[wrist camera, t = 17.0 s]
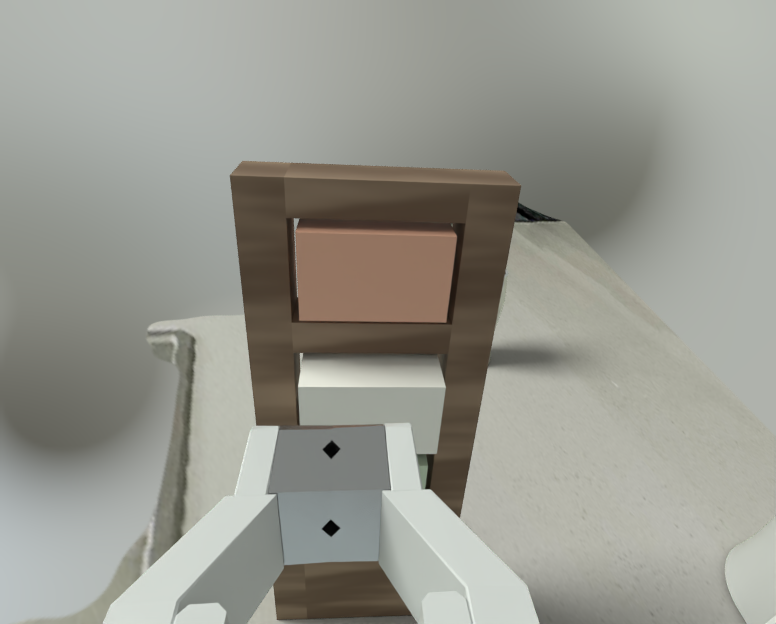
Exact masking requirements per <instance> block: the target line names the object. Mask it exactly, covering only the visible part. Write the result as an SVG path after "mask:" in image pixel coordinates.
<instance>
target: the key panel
mask: <svg viewBox="0 0 776 624" xmlns="http://www.w3.org/2000/svg"><path fill="white" fill-rule="evenodd" d="M230 181H231V190H232V200H233V209H234V219H235V227H236V237H237V246H238V256H239V265H240V275H241V284H242V294H243V303H244V313H245V322H246V332H247V341H248V350H249V360H250V369H251V379H252V388H253V398H254V407H255V416H256V426H281V425H300V418H299V397H298V384H299V377H300V353H389V354H437V355H438V359H439V363H440V367H441V371H442V374H443V378H444V382H445V386H446V390H445V397H444V405H443V412H442V419H441V427H440V434H439V441H438V449H437V454H426V457H427V463H428V470H427V478H426V486H425V489H431V490H432V491H433V492H434V493H435V494H436V495H437V496H438V497H439V498H440V499H441V500H442V501H443V502H444V503H445V504H446V505H447V506H448V507H449V508H450V509H451V510H452V511H453V512H454V513H455V514H456V515H457V516H458V517H459V518H460V514H461V509H462V504H463V498H464V493H465V487H466V482H467V476H468V471H469V466H470V460H471V455H472V449H473V444H474V439H475V433H476V428H477V422H478V417H479V411H480V406H481V401H482V395H483V390H484V384H485V379H486V374H487V368H488V363H489V357H490V352H491V346H492V341H493V336H494V330H495V325H496V319H497V314H498V308H499V303H500V298H501V292H502V287H503V281H504V276H505V271H506V265H507V260H508V254H509V249H510V243H511V238H512V233H513V227H514V222H515V216H516V211H517V206H518V200H519V194H520V189H521V185H520V184H519V183H518V182H516V181H515V180H514V179H513V178H512V177H511V176H510V175H509V174H508V173H507V172H505V171H491V170H467V169H440V168H412V167H388V166H387V167H386V166H361V165H335V164H334V165H333V164H309V163H282V162H280V163H279V162H256V161H242V162H241V163H240V164H239V166H238V167H237V168H236V169H235V170H234V171H233V172H232V174H231V175H230ZM294 218H302V219H336V220H370V221H404V222H438V223H453V230H454V232H455V234H456V235H457V241H456V249H455V257H454V265H453V273H452V281H451V289H450V297H449V304H448V312H447V320H446V323H443V322H367V321H299V302H298V297H297V286H296V264H295V241H294ZM273 586H274V596H275V605H276V614H277V620H282V619H312V618H342V617H372V616H402V615H412V614H411V612H410V611H409V609H408V608H407V606H406V605H405V603H404V602H403V600H402V598H401V597H400V595H399V594H398V592H397V591H396V589H395V588H394V586H393V585H392V583H391V582H390V580H389V578H388V577H387V575H386V574H385V572H384V571H383V569H382V568H381V566H380V565H379V561H352V562H322V563H308V564H294V565H284V569H283V571H282V572H281V574H280V575H279V577H278V578H277V580H276V581H275V583H274V584H273Z"/></svg>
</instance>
